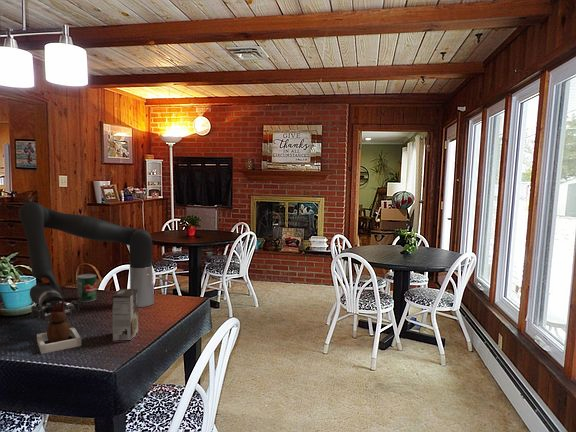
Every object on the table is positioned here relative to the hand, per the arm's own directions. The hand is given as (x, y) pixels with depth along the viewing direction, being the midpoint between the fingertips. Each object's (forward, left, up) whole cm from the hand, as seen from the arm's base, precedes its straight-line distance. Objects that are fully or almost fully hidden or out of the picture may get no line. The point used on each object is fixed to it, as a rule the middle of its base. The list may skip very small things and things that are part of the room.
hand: (58, 314), depth 135 cm
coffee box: (-20, +6, -10) cm, 23 cm away
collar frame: (0, 0, -10) cm, 10 cm away
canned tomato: (-18, -49, -10) cm, 53 cm away
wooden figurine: (0, 0, -10) cm, 10 cm away
